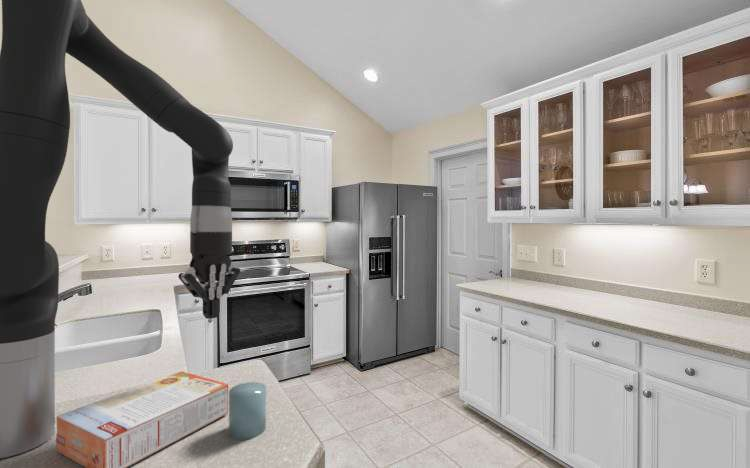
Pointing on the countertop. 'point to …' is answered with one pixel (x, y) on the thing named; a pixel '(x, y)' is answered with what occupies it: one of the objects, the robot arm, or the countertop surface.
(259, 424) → the pale blue rounded cylinder
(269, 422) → the countertop surface
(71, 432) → the cracker box
